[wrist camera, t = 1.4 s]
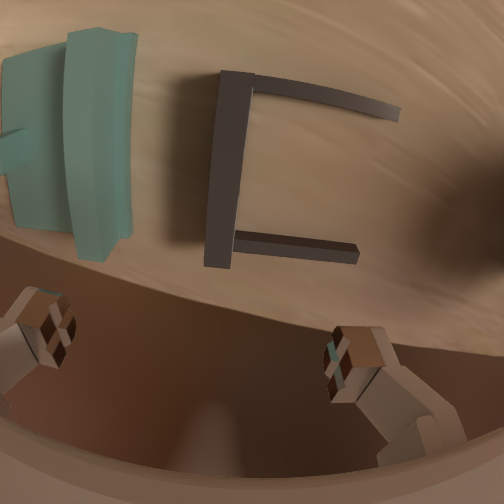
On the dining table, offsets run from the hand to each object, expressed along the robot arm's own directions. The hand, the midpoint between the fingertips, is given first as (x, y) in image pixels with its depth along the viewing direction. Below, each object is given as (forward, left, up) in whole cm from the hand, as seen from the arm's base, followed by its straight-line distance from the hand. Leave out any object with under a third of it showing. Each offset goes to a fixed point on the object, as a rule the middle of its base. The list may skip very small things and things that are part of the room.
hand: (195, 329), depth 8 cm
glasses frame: (0, +5, -17) cm, 18 cm away
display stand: (-2, -15, -17) cm, 22 cm away
